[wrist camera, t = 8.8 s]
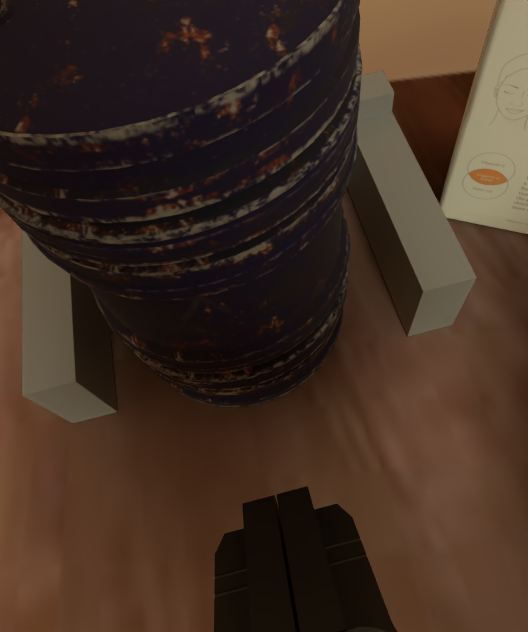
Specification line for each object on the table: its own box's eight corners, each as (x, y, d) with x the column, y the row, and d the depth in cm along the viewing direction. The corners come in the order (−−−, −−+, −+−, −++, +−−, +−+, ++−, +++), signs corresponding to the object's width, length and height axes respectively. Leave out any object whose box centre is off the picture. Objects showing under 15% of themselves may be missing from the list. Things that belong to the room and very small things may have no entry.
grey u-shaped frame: (72, 423, 21) (6, 386, 17) (63, 233, 26) (10, 166, 22) (452, 325, 21) (484, 262, 17) (373, 153, 26) (382, 70, 22)
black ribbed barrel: (294, 194, 26) (258, -200, 12) (386, 353, 21) (482, 3, 8) (113, 266, 25) (-130, -71, 12) (169, 447, 21) (-120, 234, 7)
